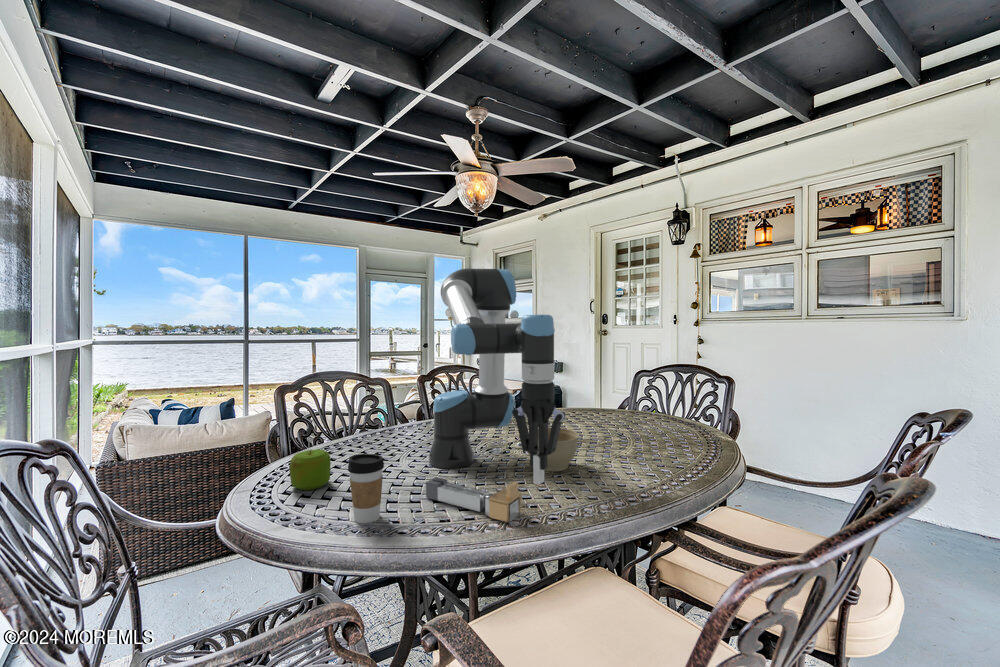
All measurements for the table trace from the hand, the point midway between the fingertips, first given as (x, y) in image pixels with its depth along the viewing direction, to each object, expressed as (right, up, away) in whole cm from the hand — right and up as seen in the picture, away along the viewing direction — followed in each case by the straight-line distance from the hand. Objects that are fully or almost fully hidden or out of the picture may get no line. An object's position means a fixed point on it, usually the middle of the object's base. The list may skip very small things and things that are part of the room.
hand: (538, 482), depth 103 cm
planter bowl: (+8, -9, +40) cm, 42 cm away
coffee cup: (-41, -11, +5) cm, 43 cm away
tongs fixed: (-17, -10, +11) cm, 22 cm away
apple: (-64, -10, +26) cm, 70 cm away
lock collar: (-8, -10, +5) cm, 13 cm away
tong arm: (-20, -9, +14) cm, 26 cm away
